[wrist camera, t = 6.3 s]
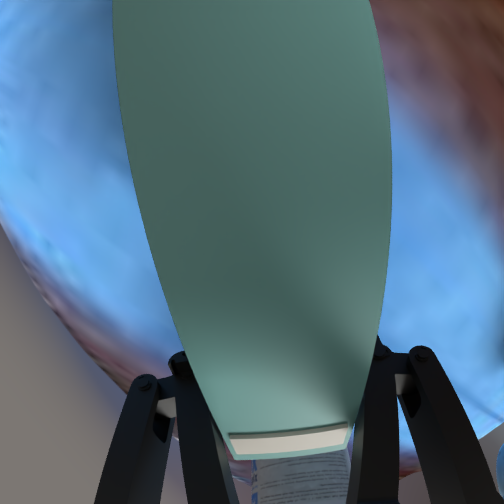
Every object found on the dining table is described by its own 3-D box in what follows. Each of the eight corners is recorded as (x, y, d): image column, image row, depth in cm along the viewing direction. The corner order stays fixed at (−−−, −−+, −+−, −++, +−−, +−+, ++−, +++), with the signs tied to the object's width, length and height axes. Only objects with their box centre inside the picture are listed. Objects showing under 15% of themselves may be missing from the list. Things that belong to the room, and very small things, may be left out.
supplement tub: (234, 409, 26) (227, 537, 13) (318, 379, 24) (342, 525, 11) (279, 440, 30) (283, 541, 16) (349, 416, 27) (371, 524, 14)
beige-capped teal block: (285, 22, 12) (328, -104, 1) (312, 309, 20) (346, 452, 10) (198, 33, 12) (114, -76, 2) (243, 317, 20) (234, 463, 10)
